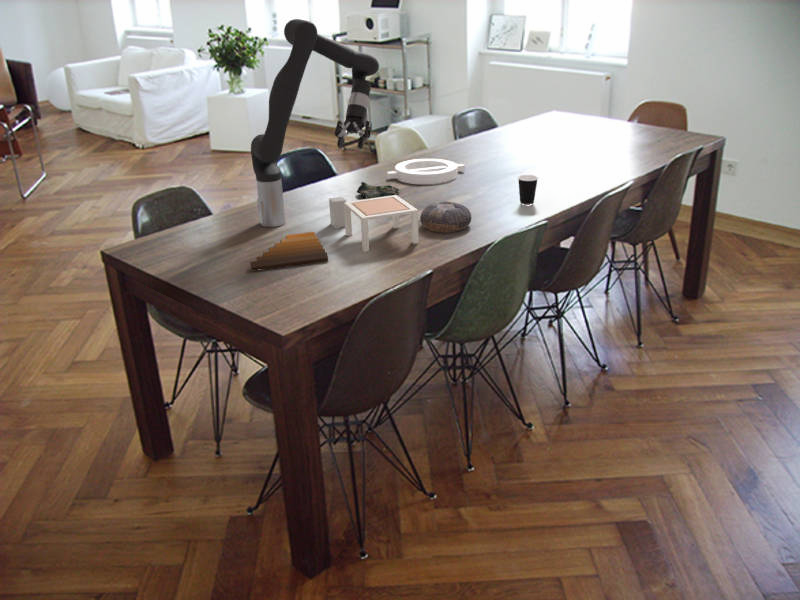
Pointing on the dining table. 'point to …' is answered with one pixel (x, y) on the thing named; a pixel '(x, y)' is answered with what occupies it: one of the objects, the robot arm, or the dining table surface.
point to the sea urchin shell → (445, 217)
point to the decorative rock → (376, 190)
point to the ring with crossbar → (426, 171)
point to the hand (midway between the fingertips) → (349, 147)
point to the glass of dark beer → (527, 188)
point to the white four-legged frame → (395, 217)
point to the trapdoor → (379, 206)
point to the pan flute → (292, 252)
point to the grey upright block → (337, 212)
